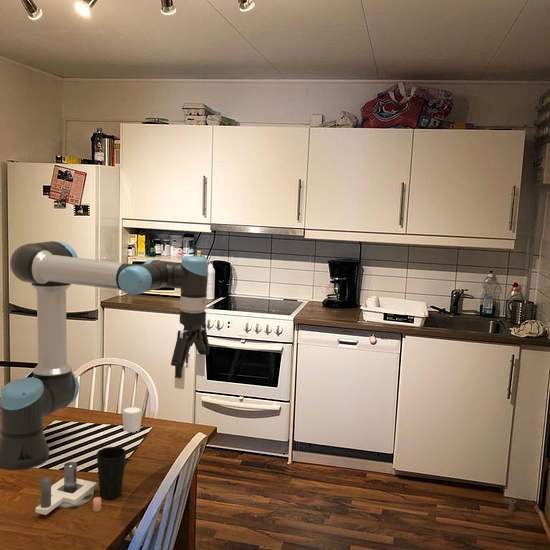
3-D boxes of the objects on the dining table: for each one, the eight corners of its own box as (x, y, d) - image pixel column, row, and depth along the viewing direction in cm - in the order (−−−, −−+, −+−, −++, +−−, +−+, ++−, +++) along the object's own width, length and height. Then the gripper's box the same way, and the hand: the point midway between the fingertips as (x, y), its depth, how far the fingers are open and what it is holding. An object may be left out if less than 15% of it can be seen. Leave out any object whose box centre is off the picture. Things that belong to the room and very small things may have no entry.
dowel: (91, 510, 154) (91, 499, 154) (95, 507, 156) (96, 496, 156) (98, 512, 154) (98, 501, 153) (102, 508, 156) (102, 497, 155)
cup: (109, 504, 158) (110, 461, 156) (89, 495, 162) (90, 453, 160) (131, 493, 164) (132, 451, 163) (111, 485, 168) (112, 444, 167)
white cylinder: (146, 428, 209) (146, 409, 208) (131, 434, 203) (132, 415, 202) (132, 423, 212) (132, 404, 211) (117, 429, 206) (117, 410, 205)
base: (36, 502, 157) (36, 469, 156) (65, 482, 168) (65, 451, 167) (75, 511, 154) (76, 478, 152) (102, 490, 165) (102, 459, 164)
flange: (65, 480, 167) (66, 452, 166) (97, 487, 164) (97, 458, 163) (23, 509, 151) (23, 478, 150) (57, 517, 148) (57, 486, 147)
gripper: (185, 319, 160) (182, 396, 163) (222, 305, 183) (219, 372, 186) (160, 316, 162) (157, 392, 165) (200, 302, 186) (197, 368, 189)
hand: (190, 381), depth 176 cm, fingers open, 13 cm apart
